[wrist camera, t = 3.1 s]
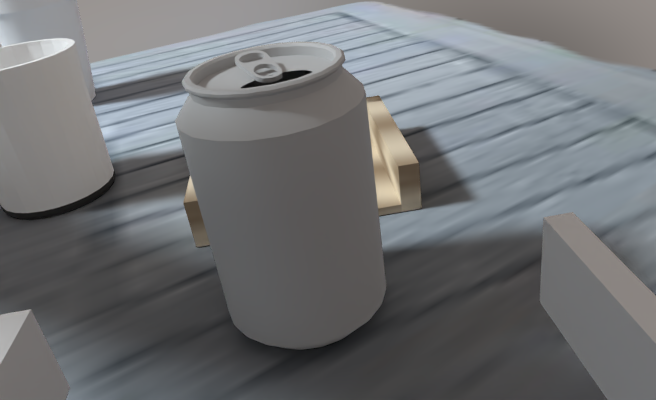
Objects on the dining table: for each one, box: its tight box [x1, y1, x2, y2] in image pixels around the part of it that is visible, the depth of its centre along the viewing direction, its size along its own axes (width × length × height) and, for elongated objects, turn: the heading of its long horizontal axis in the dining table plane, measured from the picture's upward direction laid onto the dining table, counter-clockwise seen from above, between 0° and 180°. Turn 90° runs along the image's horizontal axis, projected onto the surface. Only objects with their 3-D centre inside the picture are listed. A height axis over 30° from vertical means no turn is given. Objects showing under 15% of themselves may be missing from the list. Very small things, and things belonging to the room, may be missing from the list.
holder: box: [184, 96, 422, 247], centre depth 38 cm, size 12×13×3 cm
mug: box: [0, 38, 115, 219], centre depth 41 cm, size 11×9×10 cm
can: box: [175, 42, 387, 350], centre depth 25 cm, size 8×8×12 cm
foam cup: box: [0, 0, 96, 100], centre depth 61 cm, size 10×9×13 cm
